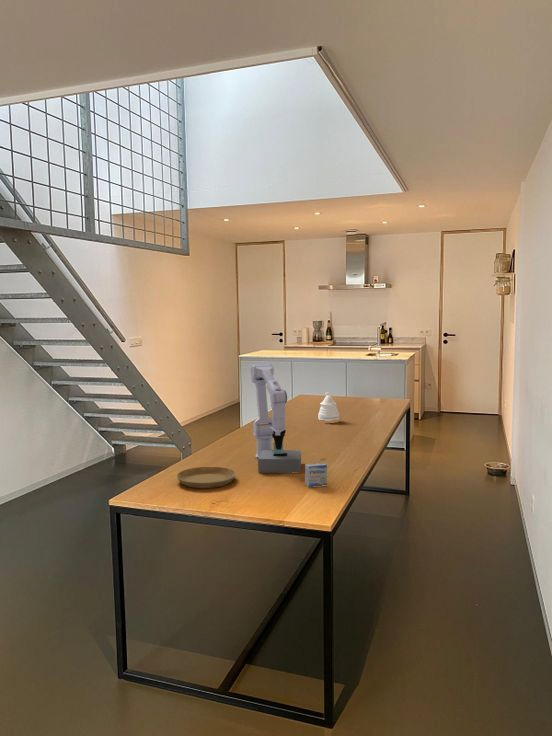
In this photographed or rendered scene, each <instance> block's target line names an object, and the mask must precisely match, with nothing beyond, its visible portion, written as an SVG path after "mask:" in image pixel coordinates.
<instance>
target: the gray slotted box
mask: <svg viewBox="0 0 552 736" xmlns="http://www.w3.org/2000/svg"><path fill="white" fill-rule="evenodd" d="M257 459H258V460H257V465H258V466H257V467H258V469H257V471H258V473H259V474H261V473H263V474H264V473H267V474H273V473H274V474H277V473H279V474H296V473H295V472H300V473H301V469H300V468H302V450H301V449H283V454H274V449H272V450H262V451H261V453H260V456H259V458H257ZM292 472H294V473H292Z"/></svg>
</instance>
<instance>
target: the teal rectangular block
mask: <svg viewBox="0 0 552 736" xmlns="http://www.w3.org/2000/svg"><path fill="white" fill-rule="evenodd" d="M272 446H273V450H274V454H283V450H284V440H283V441H282V448H281V449H276V446H275V441H274V440H273V441H272Z"/></svg>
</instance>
